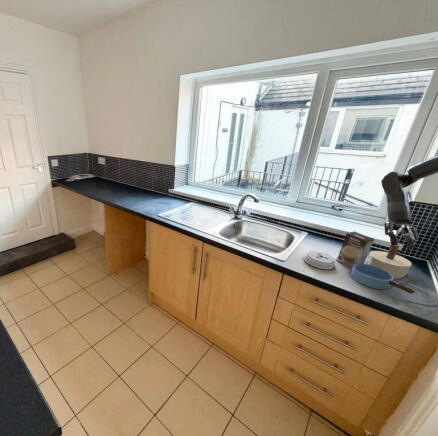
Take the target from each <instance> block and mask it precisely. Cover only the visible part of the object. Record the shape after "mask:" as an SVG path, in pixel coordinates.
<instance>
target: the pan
mask: <svg viewBox="0 0 438 436" xmlns="http://www.w3.org/2000/svg"><path fill="white" fill-rule="evenodd" d="M350 277H351V278H352V280H353V281H355V282H357V283H359V284H361V285H363V286H366V287H368V288H372V289H376V290H388V289H390V288H391V286H393V287H395V288H397V289H400V290H402V291H404V292H406V293H409V294H414V293H415V289H414V288H412V287H409V286H407V285H405V284H402V283H400V282H398V281H395V280H394V279H393V278H394V277H393V276H392V274H391V273H389V272H387V271H386V270H383V269H381V268H379V267H375V266H372V265H367V263H364V264H355V265H354V266H353V268H351V272H350Z"/></svg>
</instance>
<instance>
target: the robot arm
mask: <svg viewBox="0 0 438 436" xmlns="http://www.w3.org/2000/svg"><path fill="white" fill-rule="evenodd" d="M436 174H438V154H437V155H435V156H432V157H430V158H427V159H425V160H422V161H420V162H416V163H414V164H412V165H410V166H408V168H407V171H406V172H404V173H399V172H397V171H388V172H385V173H384V174H383V176H382V177H381V181H380V183H381V188H382V189H383V192H384V194H385V197H386V213H387V221H386V222H384V235H385V236H388V237H389V242H390V246H391V245H399V241H398V235H401V236H402V237H403V238H404V239H405V240H406V245H407V246H406V247H407V249H409V250H412V249H416V248H415V247H416V245H415V241H417V240H419V234H418V229H417V227H416V226H411V224H410V223H411V222H413V219H412V213H411V205H410V203H409V197H408V192H407V191H406V190H404V189H405V188H407V187H410V186H411V185H413V184H414V183H417V182H419V181H420V180H422V179H425V178H427V177H431V176H434V175H436Z"/></svg>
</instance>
